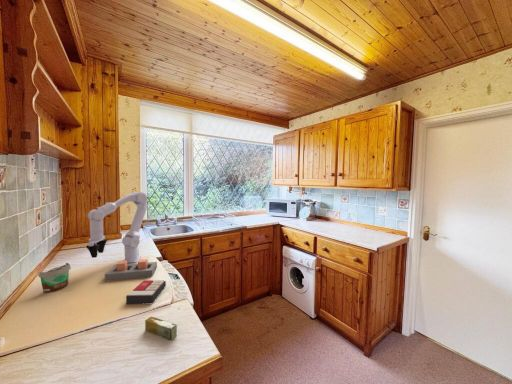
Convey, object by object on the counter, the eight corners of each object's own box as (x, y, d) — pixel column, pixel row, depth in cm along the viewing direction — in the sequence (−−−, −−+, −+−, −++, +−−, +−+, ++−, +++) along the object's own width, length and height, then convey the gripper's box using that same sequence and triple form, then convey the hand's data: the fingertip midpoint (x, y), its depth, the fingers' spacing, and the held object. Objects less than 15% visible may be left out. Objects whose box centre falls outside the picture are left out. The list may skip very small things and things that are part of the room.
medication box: (177, 335, 72) (177, 324, 72) (171, 341, 69) (171, 329, 69) (150, 326, 76) (150, 315, 76) (144, 331, 74) (144, 320, 74)
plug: (119, 271, 118) (119, 261, 117) (127, 271, 119) (127, 260, 118) (116, 275, 114) (116, 264, 113) (125, 274, 115) (124, 263, 114)
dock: (114, 271, 121) (114, 259, 120) (157, 267, 126) (156, 255, 126) (105, 281, 109) (104, 267, 109) (152, 276, 114) (151, 263, 114)
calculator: (166, 279, 105) (152, 294, 90) (166, 287, 105) (152, 304, 90) (143, 279, 104) (125, 294, 89) (143, 288, 104) (125, 304, 89)
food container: (50, 295, 95) (48, 273, 95) (39, 294, 97) (38, 272, 96) (78, 282, 107) (77, 263, 107) (68, 281, 109) (67, 262, 108)
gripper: (94, 228, 125) (95, 251, 126) (81, 234, 111) (82, 260, 112) (108, 227, 127) (109, 250, 128) (96, 234, 113) (97, 259, 114)
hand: (97, 254), depth 120 cm, fingers open, 7 cm apart
